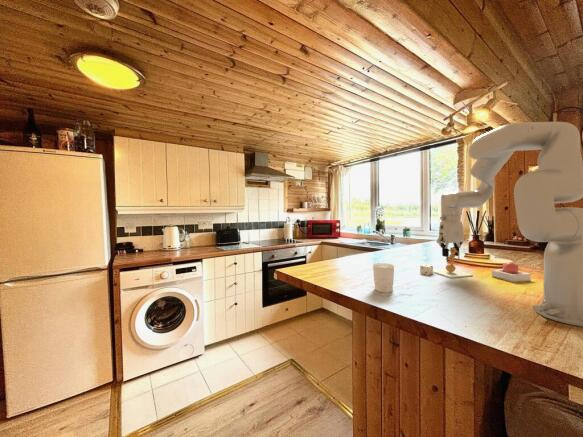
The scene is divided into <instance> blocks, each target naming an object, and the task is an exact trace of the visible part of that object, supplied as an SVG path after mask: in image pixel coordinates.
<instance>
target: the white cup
mask: <svg viewBox="0 0 583 437" xmlns="http://www.w3.org/2000/svg"><path fill="white" fill-rule="evenodd" d="M372 269H373V270H372V271H373V272H372V273H373V282H374V289H375V291H377V292H379V293H387V294H388V293H392V292H393V290H394V281H395V280H394V276H395V274H394V272H395V265H393V264H391V263H383V262H380V263H379V262H377V263H373V264H372Z"/></svg>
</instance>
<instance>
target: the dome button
mask: <svg viewBox="0 0 583 437" xmlns="http://www.w3.org/2000/svg"><path fill="white" fill-rule="evenodd" d="M502 269H503V272H505V273H510V274H518V271H519V264H517V263H515V262H512V261H508V262H504V263H502Z"/></svg>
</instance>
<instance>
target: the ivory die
mask: <svg viewBox="0 0 583 437" xmlns="http://www.w3.org/2000/svg"><path fill="white" fill-rule="evenodd" d="M433 270H434V266H433V265H430V264H420V265H419V273H420V274H422V275H426V276H429V275H432V274H434V273H433Z"/></svg>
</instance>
